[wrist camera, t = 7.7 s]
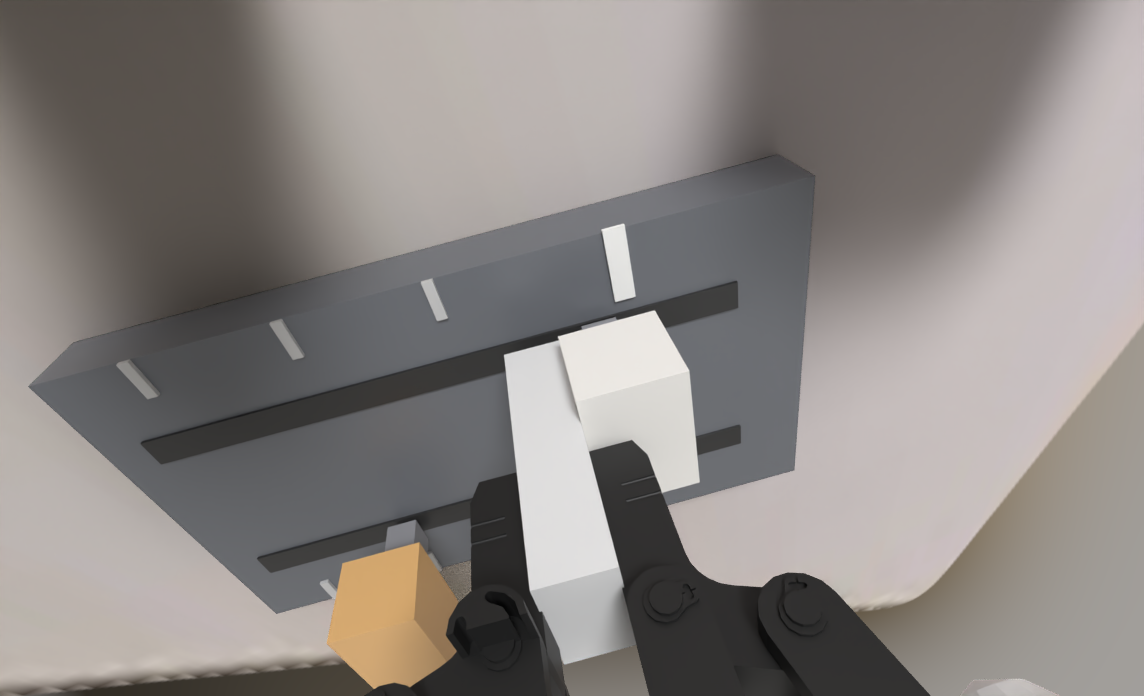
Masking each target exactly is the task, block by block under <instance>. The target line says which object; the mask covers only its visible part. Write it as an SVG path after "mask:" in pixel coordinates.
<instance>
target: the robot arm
mask: <svg viewBox="0 0 1144 696" xmlns="http://www.w3.org/2000/svg"><path fill="white" fill-rule="evenodd" d="M504 359H505V368H506V378H507V387H508V396H509V405H510V414H511V423H512V433H513V442H514V451H515V460H516V469H517V472H515V473H512V474H508V475H504V476H500V477H497V478H493V479H489V480H486V481H482V482H479V484H478V486H477V488H476V491H475V493H474V496H473V498H472V500H471V503H470V523H471V545H472V547H471V589H472V592H470V593H469V594H468V595H467V596H466V597H464V598H463V599H462V600H461V601H460V602H459V603H458V604H457V606H456V608H455V609H454V611H453V613H452V614H451V616H450V618H449V621H448V626H447V631H446V637H447V638H448V640H449V641H450V642H451V644H452V645H453V647H454V648H455V649H456V651H457V652H456V653H455V654H454V655H453V657H452V658H451V659H450V660H448V661H447V662H446V663H445V664H443V665H442V666H441V667H439V668H438V669H436V670H435V671H433V672H432V673H430V674H429V675H427V676H426V677H424V678H423V679H421V680H420V681H418V682H417V683H415V684H414V685H412V686H411V687H408V686H406V685H402V684H398V683H390V684H386V685H382V686H378V687H377V688H375V689H374V690H372V691H371V692H369V693H368V694H366V695H365V696H569V693H568V690H567V687H566V685H565V683H564V676H563V669H562V662H561V658H562V661H563V663H564V665H565V664H569V663H572V662H576V661H580V660H583V659H587V658H591V657H594V656H598V655H602V654H605V653H609V652H612V651H616V650H619V649H623V648H627V647H631V646H634V645H637V649H638V653H639V657H640V660H641V665H642V668H643V672H644V676H645V680H646V684H647V688H648V692H649V695H650V696H930V695H929V694H928V692H927V691H926V690H925V689H924V688H923V687H922V686H921V685H920V684H919V683H918V681H917V680H916V679H915V678H914V677H913V676H912V675H911V674H910V673H909V672H908V671H907V669H906V668H905V667H904V666H903V665H902V664H901V663H900V662H899V661H898V660H897V659H896V657H895V656H894V655H893V654H892V653H891V652H890V651H889V650H888V649H887V647H886V646H885V645H884V644H883V643H882V642H881V641H880V640H879V639H878V638H877V637H876V635H874V633H873V632H872V631H871V630H870V629H869V628H868V627H867V626H866V624H865V623H864V622H863V621H862V620H861V619H860V618H859V617H858V616H857V615H856V613H855V612H854V611H853V610H852V609H851V608H850V607H849V606H848V605H847V604H846V603H845V601H844V600H843V599H842V598H841V597H840V596H839V595H838V594H837V593H836V592H835V591H834V590H833V589H832V588H830V587H829V586H828V585H827V584H825V583H824V582H823V581H822V580H820V579H817V578H815V577H812V576H810V575H807V574H804V573H785V574H782V575H779V576H775V577H773V578H772V579H771V580H770V581H769V582H768V583H766V584H765V585H764V586H763V587H749V586H734V585H727V584H722V583H718V582H716V581H714V580H711V579H709V578H707V577H706V576H704V575H703V574H701V573H700V572H699V571H698V570H697V569H696V568H695V567H694V566H693V565H692V564H691V563H690V561H689V559H688V557H687V555H686V553H685V551H684V548H683V546H682V543H681V541H680V538H679V535H678V533H677V530H676V528H675V525H674V522H673V520H672V517H671V515H670V512H669V509H668V507H667V504H666V501H665V499H664V496H663V494H662V492H661V488H660V486H659V483H658V481H657V478H656V476H655V473H654V470H653V468H652V465H651V462H650V460H649V457H648V454H646V453H645V452H644V451H643V450H642V449H641V448H640V447H639V446H638V445H637V444H636V443H635V442H634V441H633V440H630V441H626V442H622V443H619V444H615V445H611V446H607V447H604V448H600V449H596V450H592V451H589V450H588V446H587V443H586V439H585V435H584V431H583V428H582V424H581V420H580V417H579V413H578V410H577V406H576V402H575V398H574V395H573V391H572V387H571V384H570V380H569V376H568V372H567V369H566V365H565V361H564V357H563V354H562V350H561V346H560V342H559V340H558V341H555V342H551V343H547V344H543V345H539V346H536V347H532V348H528V349H524V350H521V351H517V352H513V353H509V354H505V355H504Z"/></svg>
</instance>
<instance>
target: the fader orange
mask: <svg viewBox="0 0 1144 696" xmlns="http://www.w3.org/2000/svg"><path fill="white" fill-rule="evenodd" d="M457 604H458V600H457V599H456V597H455V596H454V594H453V592H452V591H451V589H450V588H449V586H448V585H447V583H446V582H445V580H444V579H443V577H442V576H441V574H440V573H439V571H438V570H437V568H436V567H435V565H434V564H433V562H432V560H431V559H430V557H429V556H428V538H427V536H426V535H425V533H424V532H423V530H422V528H421V527H420V525H419V524H418V522H417V521H416V520H413V521H409V522H406V523H402V524H398V525H395V526H391V527H388V529H387V537H386V545H385V552H382V553H378V554H375V555H371V556H367V557H364V558H360V559H357V560H353V561H349V562H346V563H342V568H341V574H340V579H339V584H338V589H337V594H336V599H335V604H334V609H333V614H332V620H331V625H330V630H329V635H328V640H327V645H329V646H330V647H331V648H332V649H333V650H334V651H335V652H336V653H337V654H338V655H339V656H340V657H341V658H342V659H343V660H344V661H345V662H346V663H347V664H349V665H350V666H351V667H352V668H353V669H354V670H355V671H356V672H357V673H358V674H359V675H360V676H361V677H362V678H363V679H364V680H365V681H366V682H367V683H369V685H371V686H372V687H373V688H374V689H375V688H377V687H378V686H382V685H386V684H390V683H398V684H402V685H406V686H408V687H411V686H412V685H414V684H415V683H417V682H418V681H420V680H421V679H423V678H424V677H426V676H427V675H429V674H430V673H432V672H433V671H435V670H436V669H438V668H439V667H441V666H442V665H443V664H445V663H446V662H447V661H448V660H450V659H451V658H452V657H453V655H454V654H455V653H456V652H457V651H456V649H455V648H454V647H453V645H452V644H451V642H450V641H449V640H448V638H447V637H446V631H447V626H448V621H449V618H450V616H451V614H452V613H453V611H454V609H455V608H456V606H457Z"/></svg>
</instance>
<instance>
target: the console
mask: <svg viewBox="0 0 1144 696" xmlns="http://www.w3.org/2000/svg"><path fill="white" fill-rule="evenodd" d="M814 186H815V175H813V174H811V173H810V172H808V171H806V170H804V169H803V168H801V167H799V166H798V165H796V164H794V163H793V162H791V161H789V160H787V159H786V158H784V157H782V156H781V155H779V154H778V155H775V156H771V157H767V158H763V159H760V160H756V161H752V162H748V163H745V164H741V165H737V166H733V167H730V168H726V169H722V170H718V171H715V172H711V173H707V174H703V175H700V176H696V177H692V178H688V179H685V180H681V181H677V182H673V183H670V184H666V185H662V186H658V187H655V188H651V189H647V190H643V191H640V192H636V193H632V194H628V195H625V196H621V197H617V198H613V199H610V200H606V201H602V202H598V203H595V204H591V205H587V206H583V207H580V208H576V209H572V210H568V211H565V212H561V213H557V214H553V215H550V216H546V217H542V218H538V219H535V220H531V221H527V222H523V223H520V224H516V225H512V226H508V227H505V228H501V229H497V230H493V231H490V232H486V233H482V234H478V235H475V236H471V237H467V238H463V239H460V240H456V241H452V242H448V243H445V244H441V245H437V246H433V247H430V248H426V249H422V250H418V251H415V252H411V253H407V254H403V255H400V256H396V257H392V258H388V259H385V260H381V261H377V262H373V263H370V264H366V265H362V266H358V267H355V268H351V269H347V270H343V271H340V272H336V273H332V274H328V275H325V276H321V277H317V278H313V279H310V280H306V281H302V282H298V283H295V284H291V285H287V286H283V287H280V288H276V289H272V290H268V291H265V292H261V293H257V294H253V295H250V296H246V297H242V298H239V299H235V300H231V301H227V302H224V303H220V304H216V305H212V306H209V307H205V308H201V309H197V310H194V311H190V312H186V313H182V314H179V315H175V316H171V317H167V318H164V319H160V320H156V321H152V322H149V323H145V324H141V325H137V326H134V327H130V328H126V329H122V330H119V331H115V332H111V333H107V334H104V335H100V336H96V337H92V338H89V339H85V340H81V341H77V342H74V343H72V344H71V345H70V346H69V347H68V348H67V349H66V350H65V351H64V352H63V353H62V354H61V355H60V356H59V357H58V358H57V359H56V360H55V361H54V362H53V363H52V364H51V365H50V366H49V367H48V368H47V369H46V370H45V371H44V372H43V373H42V374H41V375H40V376H39V377H38V378H36V379H35V380H34V381H33V382H32V383H31V384H30V385H29V386H28V387H29V388H30V389H31V390H32V391H34V392H35V393H36V394H37V395H38V396H39V397H40V398H41V399H42V400H43V401H44V402H46V403H47V404H48V405H49V406H50V407H51V408H52V409H53V410H54V411H55V412H57V413H58V414H59V415H60V416H61V417H62V418H63V419H64V420H65V421H66V422H67V423H69V424H70V425H71V426H72V427H73V428H74V429H75V430H76V431H77V432H78V433H79V434H81V435H82V436H83V437H84V438H85V439H86V440H87V441H88V442H89V443H90V444H91V445H93V446H94V447H95V448H96V449H97V450H98V451H99V452H100V453H101V454H102V455H103V456H105V457H106V458H107V459H108V460H109V461H110V462H111V463H112V464H113V465H114V466H115V467H117V468H118V469H119V470H120V471H121V472H122V473H123V474H124V475H125V476H126V477H128V478H129V479H130V480H131V481H132V482H133V483H134V484H135V485H136V486H137V487H138V488H140V489H141V490H142V491H143V492H144V493H145V494H146V495H147V496H148V497H149V498H150V499H152V500H153V501H154V502H155V503H156V504H157V505H158V506H159V507H160V508H161V509H162V510H164V511H165V512H166V513H167V514H168V515H169V516H170V517H171V518H172V519H173V520H174V521H176V522H177V523H178V524H179V525H180V526H181V527H182V528H183V529H184V530H185V531H186V532H188V533H189V534H190V535H191V536H192V537H193V538H194V539H195V540H196V541H197V542H199V543H200V544H201V545H202V546H203V547H204V548H205V549H206V550H207V551H208V552H209V553H211V554H212V555H213V556H214V557H215V558H216V559H217V560H218V561H219V562H220V563H221V564H223V565H224V566H225V567H226V568H227V569H228V570H229V571H230V572H231V573H232V574H233V575H235V576H236V577H237V578H238V579H239V580H240V581H241V582H242V583H243V584H244V585H245V586H247V587H248V588H249V589H250V590H251V591H252V592H253V593H254V594H255V595H256V596H257V597H259V598H260V599H261V600H262V601H263V602H264V603H265V604H266V605H267V606H268V607H270V608H271V609H272V610H273V611H274V612H275V613H276V614H278V613H281V612H285V611H288V610H292V609H296V608H299V607H303V606H306V605H310V604H314V603H317V602H321V601H324V600H328V599H332V598H333V599H334V600H335V599H336V594H337V589H338V584H339V579H340V574H341V568H342V563H346V562H349V561H353V560H357V559H360V558H364V557H367V556H371V555H375V554H378V553H382V552H385V545H386V537H387V529H388V527H391V526H395V525H398V524H402V523H406V522H409V521H413V520H416V521H417V522H418V524H419V525H420V527H421V528H422V530H423V532H424V533H425V535H426V536H427V538H428V556H429V557H430V559H431V560H432V562H433V564H434V565H435V567H436V568H437V570H438V571H442V568H443V567H447V566H451V565H454V564H458V563H461V562H465V561H469V560H471V547H472V545H471V523H470V503H471V500H472V498H473V496H474V493H475V491H476V488H477V486H478V484H479V482H482V481H486V480H489V479H493V478H497V477H500V476H504V475H508V474H512V473H515V472H517V469H516V460H515V451H514V442H513V433H512V423H511V414H510V405H509V396H508V387H507V378H506V368H505V359H504V355H505V354H509V353H513V352H517V351H521V350H524V349H528V348H532V347H536V346H539V345H543V344H547V343H551V342H555V341H558V340H559V339H558V336H562V335H565V334H569V333H573V332H576V331H580V330H582V327H581V326H584V325H588V324H592V323H595V322H599V321H603V320H606V319H610V318H614V317H616V319H617V320H621V319H624V318H628V317H632V316H635V315H639V314H643V313H646V312H650V311H654V310H655V312H656V313H657V315H658V317H659V319H660V320H661V322H662V324H663V326H664V327H665V329H666V331H667V333H668V334H669V336H670V338H671V340H672V341H673V343H674V345H675V347H676V348H677V350H678V352H679V354H680V355H681V357H682V359H683V361H684V362H685V364H686V366H687V368H688V369H689V373H690V383H691V394H692V405H693V415H694V426H695V437H696V447H697V458H698V469H699V479H700V482H699V483H696V484H692V485H688V486H685V487H681V488H678V489H674V490H670V491H667V492H663V493H662V494H663V496H664V499H665V501H666V504H667V505H671V504H674V503H678V502H681V501H685V500H689V499H692V498H696V497H699V496H703V495H707V494H710V493H714V492H717V491H721V490H725V489H728V488H732V487H735V486H739V485H743V484H746V483H750V482H754V481H757V480H761V479H764V478H768V477H772V476H775V475H779V474H782V473H786V472H790V471H793V470H794V467H795V453H796V439H797V425H798V411H799V397H800V383H801V369H802V355H803V341H804V327H805V313H806V299H807V284H808V270H809V256H810V242H811V228H812V214H813V200H814ZM586 443H587V442H586Z"/></svg>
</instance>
